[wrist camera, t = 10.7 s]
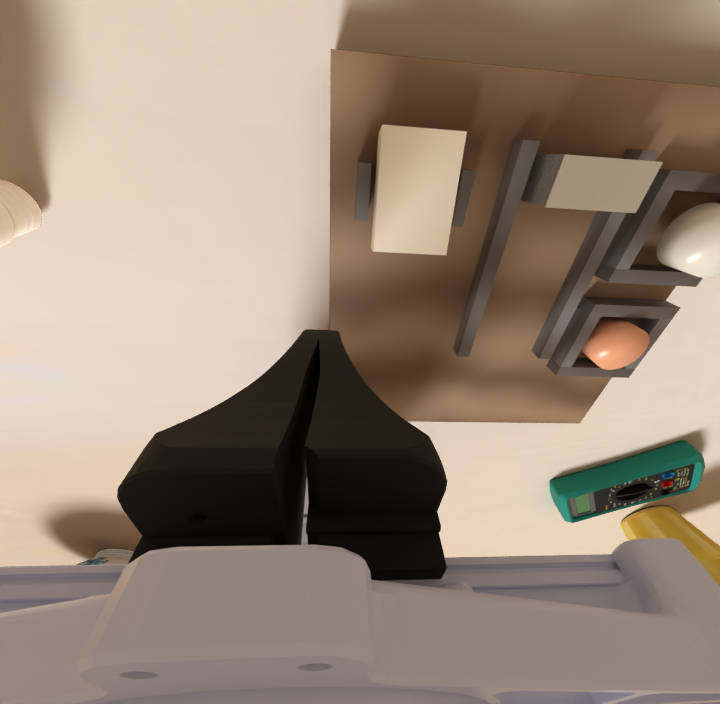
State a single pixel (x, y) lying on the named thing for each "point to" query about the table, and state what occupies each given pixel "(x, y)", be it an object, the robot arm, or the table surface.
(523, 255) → the brown flat wooden tray
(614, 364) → the peach egg shape
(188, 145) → the table surface
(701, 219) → the cream egg shape
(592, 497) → the digital multimeter
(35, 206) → the lightbulb
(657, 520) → the plant pot
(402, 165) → the block
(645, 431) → the table surface
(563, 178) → the light grey small block
